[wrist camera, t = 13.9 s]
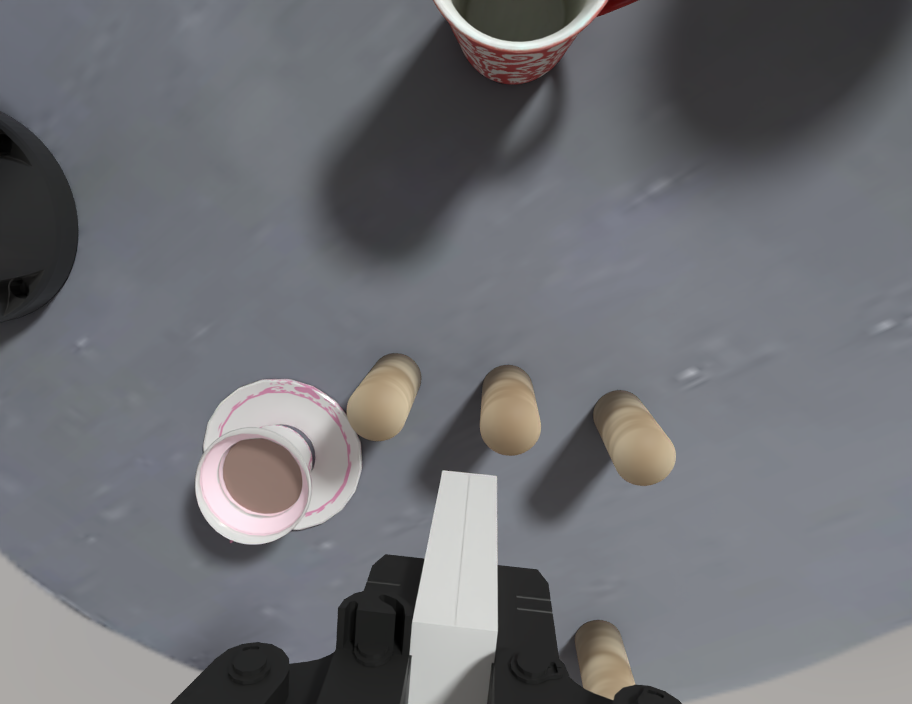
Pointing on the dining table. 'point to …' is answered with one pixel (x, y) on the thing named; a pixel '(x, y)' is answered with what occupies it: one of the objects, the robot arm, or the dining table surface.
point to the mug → (519, 33)
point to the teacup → (275, 461)
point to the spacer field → (516, 431)
